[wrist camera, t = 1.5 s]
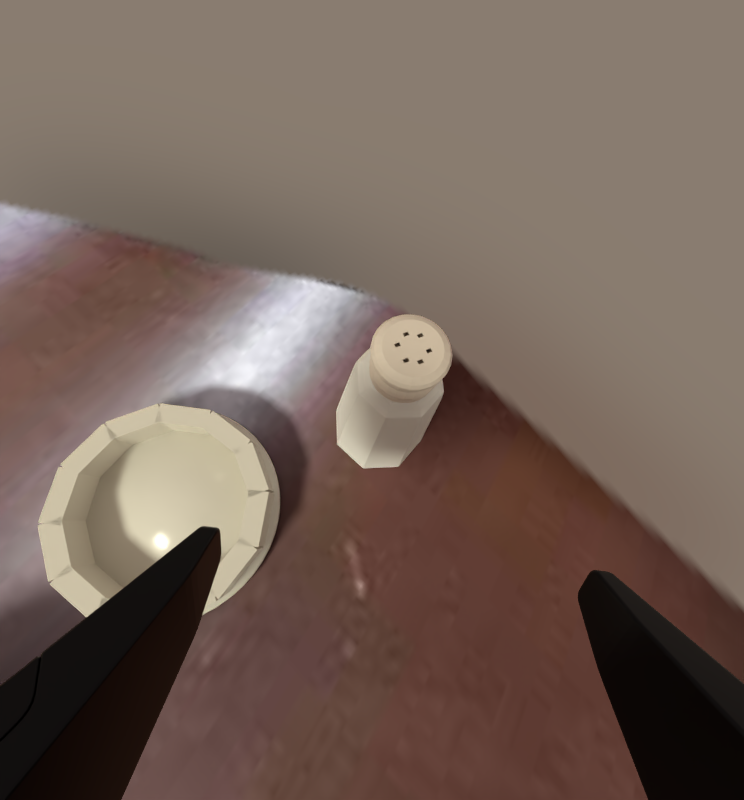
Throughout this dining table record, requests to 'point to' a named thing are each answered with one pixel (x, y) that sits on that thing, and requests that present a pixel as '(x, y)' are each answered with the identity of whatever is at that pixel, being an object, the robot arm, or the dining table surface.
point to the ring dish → (157, 502)
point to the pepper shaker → (393, 391)
